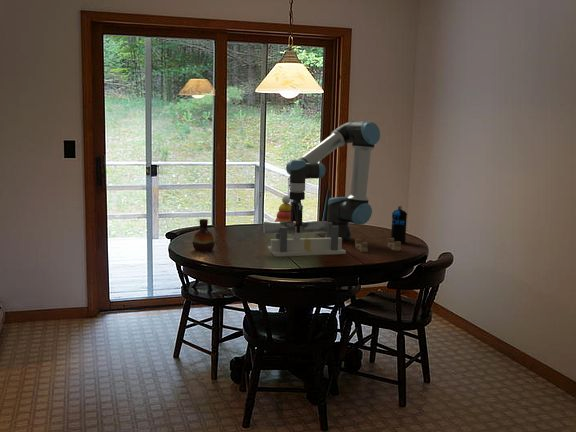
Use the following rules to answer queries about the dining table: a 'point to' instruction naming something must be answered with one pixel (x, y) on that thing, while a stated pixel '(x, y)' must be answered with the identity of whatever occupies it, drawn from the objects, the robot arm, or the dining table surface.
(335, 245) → the white cradle stand
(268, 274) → the dining table surface
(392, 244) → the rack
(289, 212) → the stacking toy
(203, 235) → the vase
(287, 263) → the dining table surface
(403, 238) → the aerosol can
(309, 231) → the tube
